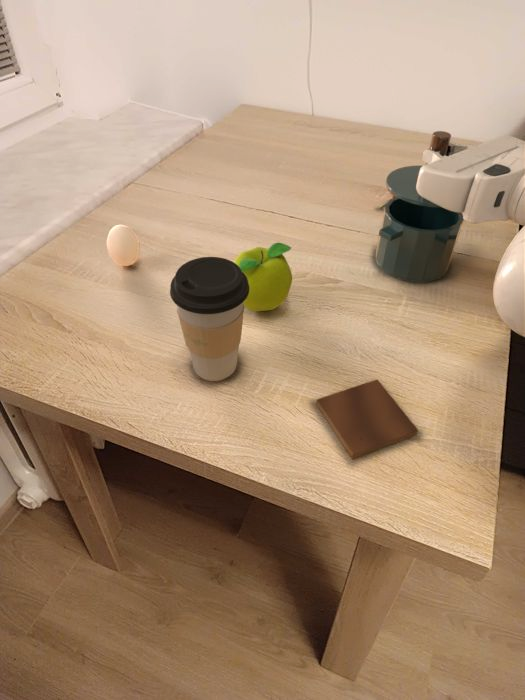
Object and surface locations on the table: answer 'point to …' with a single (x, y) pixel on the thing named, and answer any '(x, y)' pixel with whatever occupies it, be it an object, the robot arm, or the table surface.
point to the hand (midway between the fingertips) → (434, 150)
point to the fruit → (265, 276)
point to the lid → (415, 174)
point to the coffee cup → (211, 313)
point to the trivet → (366, 418)
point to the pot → (417, 240)
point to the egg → (123, 245)
